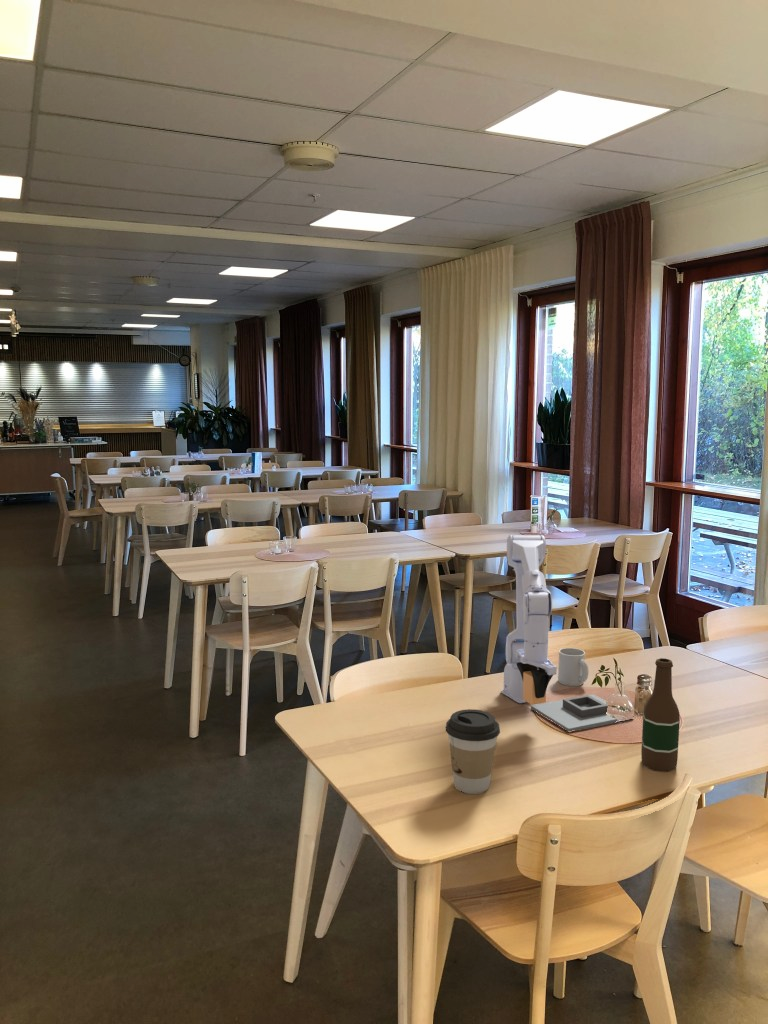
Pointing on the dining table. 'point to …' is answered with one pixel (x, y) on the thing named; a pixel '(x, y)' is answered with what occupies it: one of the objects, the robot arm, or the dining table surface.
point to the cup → (572, 667)
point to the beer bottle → (661, 722)
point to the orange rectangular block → (530, 690)
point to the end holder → (576, 712)
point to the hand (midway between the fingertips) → (534, 694)
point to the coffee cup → (472, 748)
